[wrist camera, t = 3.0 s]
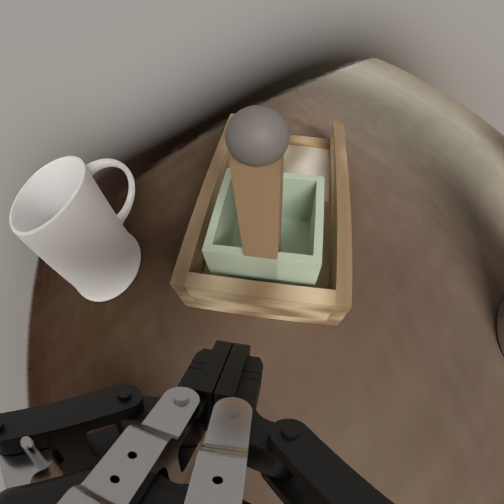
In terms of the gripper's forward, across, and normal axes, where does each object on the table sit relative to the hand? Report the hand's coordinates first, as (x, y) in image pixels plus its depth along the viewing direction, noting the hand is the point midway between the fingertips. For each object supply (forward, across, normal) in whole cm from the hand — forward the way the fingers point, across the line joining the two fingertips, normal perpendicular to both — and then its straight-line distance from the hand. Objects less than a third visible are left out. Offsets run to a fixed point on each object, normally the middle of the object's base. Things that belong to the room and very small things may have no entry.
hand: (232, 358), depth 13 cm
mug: (+15, +16, +1) cm, 22 cm away
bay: (+19, 0, -4) cm, 20 cm away
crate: (+14, 0, -1) cm, 15 cm away
